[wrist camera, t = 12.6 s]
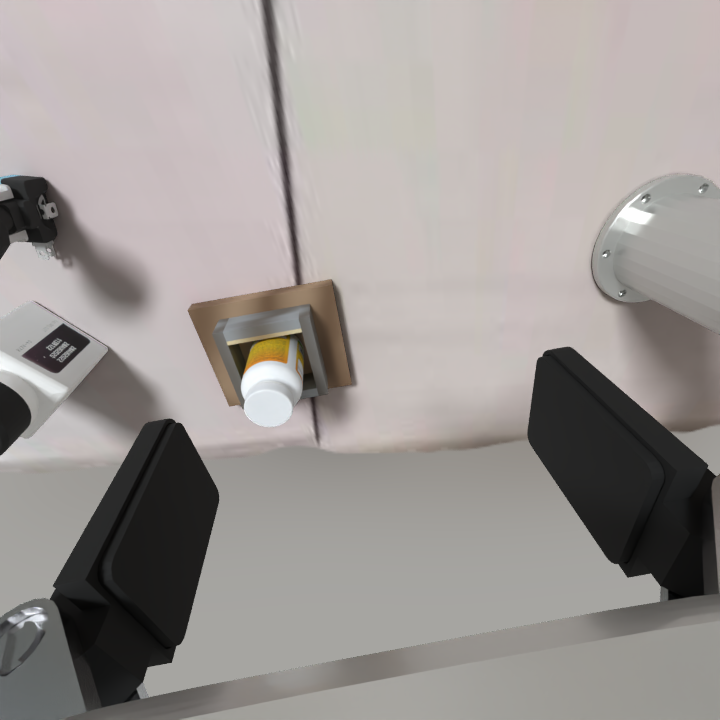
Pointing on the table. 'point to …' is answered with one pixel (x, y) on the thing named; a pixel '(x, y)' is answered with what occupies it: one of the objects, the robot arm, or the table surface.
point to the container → (39, 368)
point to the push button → (26, 214)
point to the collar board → (274, 334)
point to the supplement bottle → (273, 380)
